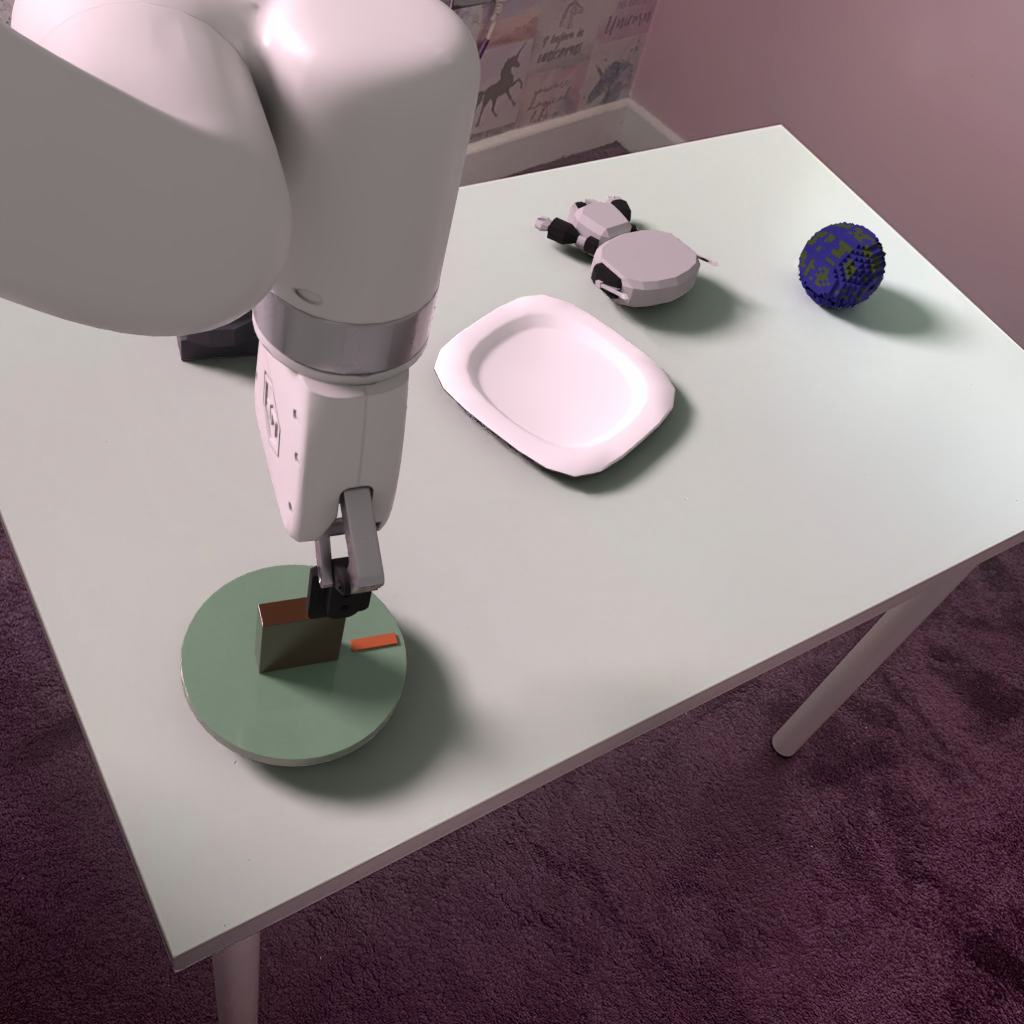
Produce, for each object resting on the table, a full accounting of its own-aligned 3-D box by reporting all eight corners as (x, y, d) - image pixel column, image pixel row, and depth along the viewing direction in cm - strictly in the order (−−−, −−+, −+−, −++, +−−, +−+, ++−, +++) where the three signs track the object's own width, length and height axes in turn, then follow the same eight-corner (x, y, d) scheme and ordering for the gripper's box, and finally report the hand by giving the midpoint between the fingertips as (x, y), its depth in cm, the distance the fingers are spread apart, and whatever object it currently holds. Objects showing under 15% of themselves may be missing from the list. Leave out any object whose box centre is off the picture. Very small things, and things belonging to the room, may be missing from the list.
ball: (772, 281, 108) (804, 220, 102) (815, 259, 112) (849, 200, 106) (831, 329, 105) (867, 270, 99) (873, 306, 109) (911, 247, 103)
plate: (692, 402, 94) (699, 389, 93) (573, 508, 83) (579, 495, 82) (537, 291, 99) (541, 276, 97) (406, 377, 88) (409, 363, 87)
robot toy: (520, 245, 104) (619, 335, 97) (528, 205, 100) (632, 295, 94) (611, 217, 110) (710, 299, 103) (622, 178, 107) (725, 261, 100)
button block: (177, 370, 83) (175, 332, 80) (160, 284, 88) (158, 246, 85) (333, 359, 88) (338, 323, 84) (308, 278, 93) (312, 242, 90)
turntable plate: (199, 789, 61) (198, 739, 56) (166, 589, 69) (163, 529, 64) (429, 741, 66) (447, 691, 61) (375, 559, 74) (388, 501, 69)
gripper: (219, 170, 48) (219, 423, 61) (298, 464, 38) (278, 687, 52) (381, 167, 50) (347, 411, 63) (491, 442, 41) (425, 660, 54)
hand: (316, 535), depth 57 cm, fingers open, 9 cm apart
